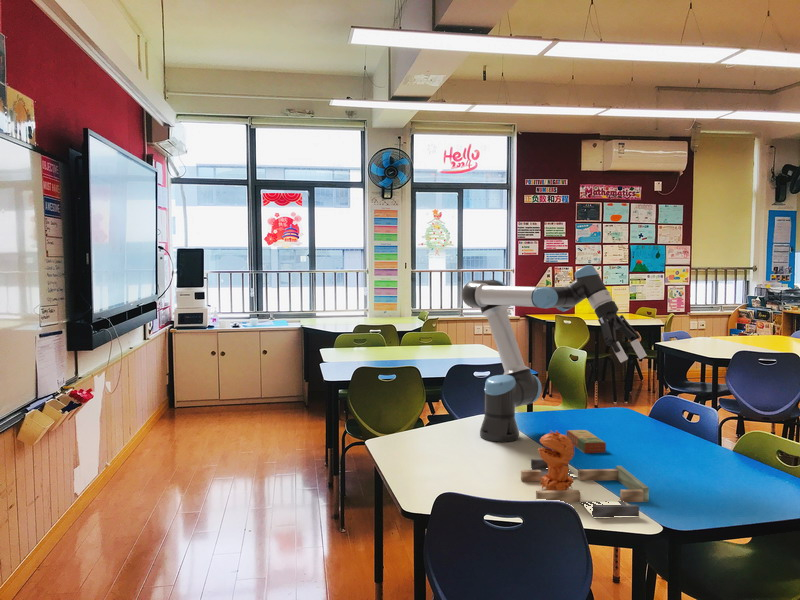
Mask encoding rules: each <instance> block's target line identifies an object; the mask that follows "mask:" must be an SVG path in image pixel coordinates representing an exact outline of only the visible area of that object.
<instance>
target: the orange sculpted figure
mask: <svg viewBox="0 0 800 600" xmlns="http://www.w3.org/2000/svg"><path fill="white" fill-rule="evenodd" d="M539 442H540V444H542V447H539V448H537V450H538V454H539V457H540V459H543V460H544V461H545V462H546V463H547V466H548V474H544V475H543V477H542V478H541V481H539V482H540V486H541V489H544V488H545V491H548V490H570V488H572V489H573V487H572V485H573V483H574V481H575V480H574V479H572V477H569V476H568V471H569V469H570V468H569V464H570V461H572V460H573V458H574V456H575V446H574V444H573V443H572V441H571V440H570V439H569V437H567V434H562V433H560V432H559V431H558V430H557V429H556V430H555V432H554V431H552V430H550V432H549V433H546V434H544V435H543V436H541V437H540V438H539ZM567 464H568V466H565V465H567Z"/></svg>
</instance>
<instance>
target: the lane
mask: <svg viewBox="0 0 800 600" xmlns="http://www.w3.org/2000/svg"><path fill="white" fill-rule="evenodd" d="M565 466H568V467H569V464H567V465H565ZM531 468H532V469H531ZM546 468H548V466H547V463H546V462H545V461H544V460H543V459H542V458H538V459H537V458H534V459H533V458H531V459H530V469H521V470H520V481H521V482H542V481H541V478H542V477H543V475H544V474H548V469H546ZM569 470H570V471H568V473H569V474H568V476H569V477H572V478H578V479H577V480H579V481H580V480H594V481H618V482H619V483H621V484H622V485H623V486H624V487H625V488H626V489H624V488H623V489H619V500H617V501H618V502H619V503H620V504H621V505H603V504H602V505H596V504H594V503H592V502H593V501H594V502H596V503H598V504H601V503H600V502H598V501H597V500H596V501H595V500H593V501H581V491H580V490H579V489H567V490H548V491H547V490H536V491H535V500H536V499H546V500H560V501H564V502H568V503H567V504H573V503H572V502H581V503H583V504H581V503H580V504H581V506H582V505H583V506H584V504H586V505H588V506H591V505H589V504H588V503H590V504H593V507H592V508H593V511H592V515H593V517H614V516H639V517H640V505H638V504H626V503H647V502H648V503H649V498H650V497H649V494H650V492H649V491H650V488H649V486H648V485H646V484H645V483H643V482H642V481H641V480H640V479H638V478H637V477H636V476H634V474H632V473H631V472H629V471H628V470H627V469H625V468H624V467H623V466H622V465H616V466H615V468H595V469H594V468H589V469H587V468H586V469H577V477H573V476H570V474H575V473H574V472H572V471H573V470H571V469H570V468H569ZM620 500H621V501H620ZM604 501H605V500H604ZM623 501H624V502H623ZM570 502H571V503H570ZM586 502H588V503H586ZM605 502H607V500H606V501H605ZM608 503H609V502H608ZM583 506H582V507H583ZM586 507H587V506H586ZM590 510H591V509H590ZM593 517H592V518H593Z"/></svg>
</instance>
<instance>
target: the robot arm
mask: <svg viewBox="0 0 800 600" xmlns="http://www.w3.org/2000/svg"><path fill="white" fill-rule="evenodd" d="M461 298H462V301H463V302H464V304H465V305H466V306H468V307H470V308H473V309H480V311H481V314H482V316H484V317H485V318H486V319H487V322H488V325H489V328H490V331H491V333H492V336H493V340H494V343H495V346H496V349H497V352H498V355H499V359H500V362H501V365H502V367H503V371H504V372H503V374H497V375H492V376H489V377H488V378H486V380H485V383H484V384H485V385H484V417H483V420H482V424H481V425H480V429H479V436H481V437H480V438H482V439H483V440H486V441H490V442H496V441H497V442H498V443H499V442H500V443H508V442H507V441H510V442H515V441H517V440H519V439H520V431H519V426H518V424H517V420H516V408H517V407H522V406H528V405H531V404H533V403H535V402H536V401H538V400H539V398H540V397H541V394H542V389H543V388H542V383H541V381H540V379H539V377H538V376H536V375H534V374H532V371H531V368H530V367H528V366H527V365H525V362H524V359H523V356H522V353H521V350H520V347H519V343H518V341H517V339H516V334H515V332H514V329H513V325H512V323H511V320H510V318H509V314H508V309H509V307H528V308H529V307H530V308H531V307H532V308H539V309H550V308H551V309H552V308H556V309H557V310H558V311H561V312H566V311H567V312H568V311H569V310H571V309H573V308H575V306H577V305H579V303H581V302H583V300H586V299H587V301H588V303H589V304H590V306H591V308H592V310H594V313H595V315H596V317H597V321H598V323H599V325H600V330H601V333H602V337H603V340H604V343H605V344H606V346H607V347H609V346H610V347H611V348H612V350H613V352H614V354H615V356H616V357H617V359H618V361H619V362H620V363H621V364H622V363H623V362H626V361H627V360H628V359H629V357H628V355H627V354H626V353H625V350H624V349H623V347H622V345H621V343H620V341H617V334H616V333H617V332H616V331H618V332H620V333H621V334H622V335H623V336H625V338H627V339H628V340H629V341H630V343H629V344H630V345H631V347H632V348H633V351H634V352H635V354H636V355H637V357H638V359H639V360H641V359H644V358H645V357H647V356H648V355H647V353H646V351H645V349H644V348H643V346H642V344H641V343H640V341H639V339H640V338H641V337H640V334H639V333H638V332H637V331H636V329H634V328H633V326H632V325H631V324H630V323H629V322H628V321H627V319H626V318H625V317H624V315H623V314H621V315H618V314H617V313H618V311H619V307H618V306H617V304H616V301H614V300H613V297H612V295H611V292H610V290H608V289H607V287H606V285H605V283H604V281H603V279H602V278H601V276H600V273H598V271H597V270H596V268H595V267H594V266H593V265H591V264H590V265H589V264H588V265H583V266H582V267H580V268H578V269H577V270H576V271H575V272H574V280H573V281H572V282H571V283H569V284H568V285H566V286H522V285H521V286H518V285H516V286H515V285H507V284H506V283H504V282H503V281H501V280H496V279H489V280H488V279H486V280H485V279H481V280H480V279H479V280H477V279H475V280H471V281H469V282H467V283H466V284H465V285H464V286H463V288H462V290H461ZM514 440H515V441H514ZM497 442H496V443H497Z"/></svg>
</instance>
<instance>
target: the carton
mask: <svg viewBox="0 0 800 600" xmlns="http://www.w3.org/2000/svg"><path fill="white" fill-rule="evenodd" d="M566 436H567V437H569V439H570V440H571V441H572V443H573V444H574V448H576V449H578V450H579V451H580V452H582V453H583V454H598V453H602V454H603V453H606V452H607V451H606V449H607V443H606V442H605V441H604V440H603V439H601V438H599V437H598V436H596V435H594V434H593V433H592V432H590V431H588V430H587V429H573V430H572V429H571V430H570V429H569V430H566Z"/></svg>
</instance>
